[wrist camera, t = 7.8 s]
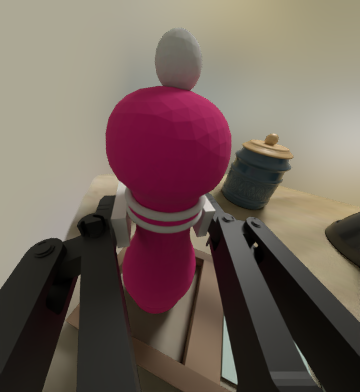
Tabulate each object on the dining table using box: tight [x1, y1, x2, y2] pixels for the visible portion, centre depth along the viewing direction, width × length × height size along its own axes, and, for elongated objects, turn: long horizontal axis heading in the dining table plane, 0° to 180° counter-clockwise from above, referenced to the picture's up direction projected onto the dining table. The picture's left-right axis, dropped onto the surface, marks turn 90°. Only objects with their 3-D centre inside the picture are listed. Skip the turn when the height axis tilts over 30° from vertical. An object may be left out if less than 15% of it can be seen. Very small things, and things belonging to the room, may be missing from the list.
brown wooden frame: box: [66, 235, 326, 392], centre depth 15 cm, size 12×26×2 cm, turn 72°
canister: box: [222, 134, 293, 210], centre depth 35 cm, size 13×13×18 cm
